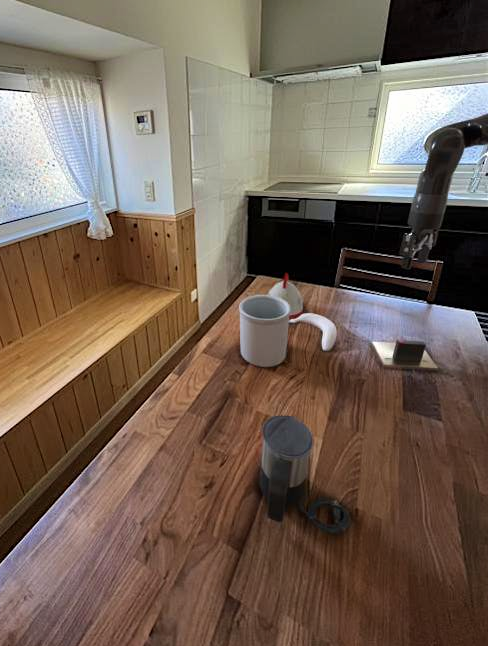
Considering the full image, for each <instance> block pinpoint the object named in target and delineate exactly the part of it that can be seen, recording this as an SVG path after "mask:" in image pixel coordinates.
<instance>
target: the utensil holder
mask: <svg viewBox="0 0 488 646" xmlns="http://www.w3.org/2000/svg"><path fill="white" fill-rule="evenodd" d="M238 312H239V337H240V338H239V340H240V341H239V342H240V343H239V344H240V354H241V356H242V358H243V359H244V360H245V361H246V362H247V363H250V364H251V365H254V366H257V367H262V368H263V367H264V368H269V367H270V368H271V367H276V366H278V365H279V364H281V363H282V362H284V360H285V359H286V353H287V346H288V334H289V323H290V322H289V320H290V319H289V315H290V305H289V304H288V303H287V302H286V301H285V300H283V299H281V298H279V297H276V296H272V295H267V294H256V295H251V296H247V297H245V298H244V299H243V300H241V301H240V303H239V305H238Z"/></svg>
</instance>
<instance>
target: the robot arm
mask: <svg viewBox="0 0 488 646" xmlns="http://www.w3.org/2000/svg"><path fill="white" fill-rule="evenodd" d="M486 145H487V146H488V112H487V113H485V114H482V115H480V116H477V117H474V118H470V119H466V120H461V121H457V122H454V123H451V124H447V125H444V126H441V127H438V128H436V129H433V130H432V131H431V132H430V133H428V135H427V136H426V137H425V139H424V142H423V148H424V151H425V153H426V154H428V156H427V159H426V164H425V167H424V169H423V170H421V172H420V174H419V176H418V181H417V184H416V188H415V193H414V195H413V198H412V202H411V205H410V206H411V207H410V211H409V215H408V219H407V225H408V226H409V227H411V232H410V233H404V234H403V237H402V241H401V245H400V249H399V252H398V253H399V255H400V256H402V261H401V265H400V267H401V269H404V270H407V271H408V270H411V268H412V265H413V260H414V257H415V254H416V253H417V252H418V254H417V258H416V260H417V261H418V262H421V263H426V262H427V261H428V257H429V253H430V250H432V247H435V246H436V244H437V239H438V235H439V231H440V228H441V226H442V223H443V220H444V216H445V211H446V208H447V205H448V200H449V192H450V188H451V185H452V180H453V177H454V173H455V172H456V170H457V168H458V166H459V164H460V161H461V160H462V157H463V155H464V153H465V149H469V148H471V147H476V146H478V147H479V146H486Z"/></svg>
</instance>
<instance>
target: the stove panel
mask: <svg viewBox="0 0 488 646" xmlns="http://www.w3.org/2000/svg"><path fill="white" fill-rule="evenodd" d="M370 345H371V347H372V349H373V351H374V353H375V355H376V357H377V358H378V360H379V362H380V364H381V366H382V368H384V369H385V368H386V369H400V370H412V372H413V373H416V371H429V372H438V371H439V367H438V365H436V363H435V361H434V360H433V359H432V358H431V356H430V355H429V354H428V352H427V351H426V349H425V350H424V353H423V357H422V360H421V362H416V361H400V360H394V358H393V353H394V349H395V345H396V342H387V341H371V343H370Z"/></svg>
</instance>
